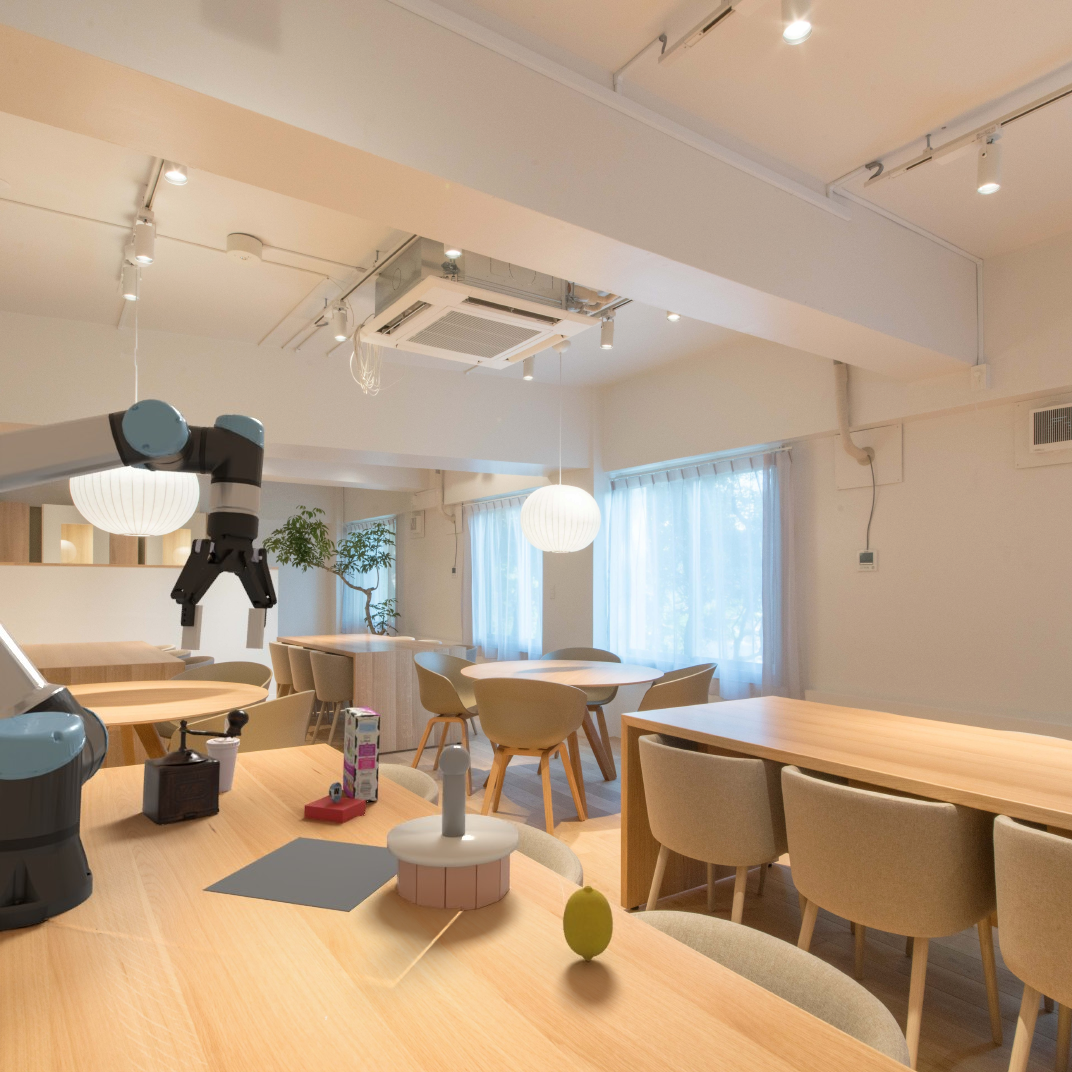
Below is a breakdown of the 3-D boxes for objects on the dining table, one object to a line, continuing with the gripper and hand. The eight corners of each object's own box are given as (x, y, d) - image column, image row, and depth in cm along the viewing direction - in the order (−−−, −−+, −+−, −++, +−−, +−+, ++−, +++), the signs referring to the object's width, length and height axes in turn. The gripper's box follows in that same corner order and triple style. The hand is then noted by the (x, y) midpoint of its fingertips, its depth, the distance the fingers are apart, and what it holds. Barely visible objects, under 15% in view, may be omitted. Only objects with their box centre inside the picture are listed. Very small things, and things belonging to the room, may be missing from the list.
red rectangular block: (304, 821, 132) (305, 784, 133) (328, 811, 139) (328, 775, 139) (342, 827, 129) (343, 789, 130) (365, 815, 136) (365, 780, 136)
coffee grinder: (158, 827, 128) (162, 719, 129) (140, 812, 136) (144, 711, 137) (250, 809, 138) (253, 709, 139) (228, 796, 146) (231, 702, 148)
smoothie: (226, 794, 147) (228, 722, 148) (196, 792, 149) (199, 720, 149) (245, 786, 154) (247, 716, 154) (216, 784, 155) (219, 715, 156)
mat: (349, 915, 95) (349, 911, 95) (202, 893, 101) (202, 889, 101) (424, 855, 116) (424, 851, 116) (299, 840, 122) (299, 837, 122)
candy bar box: (379, 801, 144) (381, 714, 145) (353, 804, 142) (355, 716, 143) (366, 787, 154) (368, 705, 155) (341, 789, 152) (343, 707, 153)
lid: (492, 874, 93) (494, 764, 94) (361, 857, 98) (364, 754, 99) (534, 828, 110) (535, 736, 111) (421, 817, 115) (423, 729, 116)
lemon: (554, 965, 83) (555, 890, 83) (575, 944, 88) (576, 873, 88) (601, 977, 80) (601, 900, 81) (620, 955, 85) (620, 882, 85)
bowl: (485, 917, 94) (486, 868, 95) (377, 902, 98) (378, 855, 99) (521, 873, 109) (522, 831, 109) (426, 862, 113) (426, 821, 113)
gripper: (267, 525, 133) (259, 647, 130) (151, 501, 109) (138, 649, 107) (303, 524, 130) (295, 648, 127) (191, 499, 107) (179, 651, 104)
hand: (224, 649), depth 117 cm, fingers open, 13 cm apart
